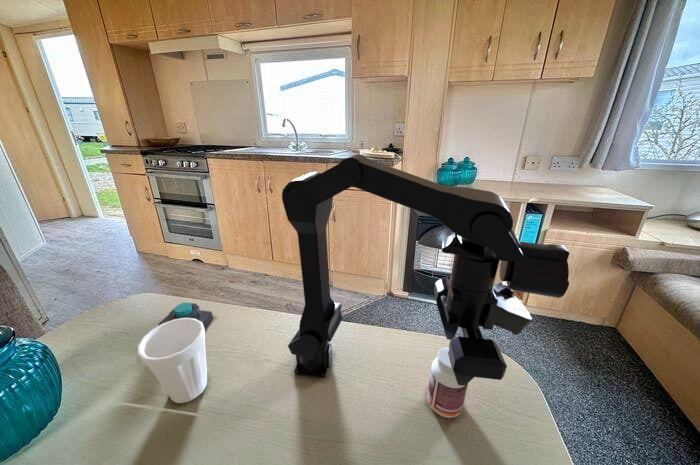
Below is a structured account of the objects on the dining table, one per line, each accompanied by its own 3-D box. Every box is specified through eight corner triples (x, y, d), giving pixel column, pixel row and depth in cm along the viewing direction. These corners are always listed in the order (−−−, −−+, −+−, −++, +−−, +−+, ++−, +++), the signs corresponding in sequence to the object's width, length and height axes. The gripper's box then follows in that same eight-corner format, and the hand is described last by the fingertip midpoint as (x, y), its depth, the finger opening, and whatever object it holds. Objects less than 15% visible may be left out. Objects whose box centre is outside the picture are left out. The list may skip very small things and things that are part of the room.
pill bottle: (469, 407, 50) (480, 362, 45) (447, 426, 47) (456, 380, 42) (441, 381, 55) (449, 338, 50) (419, 397, 51) (425, 353, 47)
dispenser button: (172, 317, 66) (170, 311, 65) (182, 307, 69) (181, 301, 69) (186, 318, 66) (184, 312, 65) (195, 308, 69) (194, 303, 68)
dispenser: (159, 331, 66) (155, 318, 65) (178, 313, 72) (174, 301, 71) (198, 336, 65) (194, 322, 64) (214, 317, 71) (210, 305, 70)
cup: (229, 374, 56) (216, 324, 50) (187, 423, 47) (167, 368, 42) (190, 361, 59) (175, 312, 53) (145, 404, 50) (121, 351, 45)
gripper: (570, 333, 30) (532, 423, 37) (506, 253, 47) (488, 325, 54) (464, 323, 32) (445, 412, 38) (439, 249, 49) (429, 319, 55)
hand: (455, 359), depth 46 cm, fingers open, 9 cm apart
